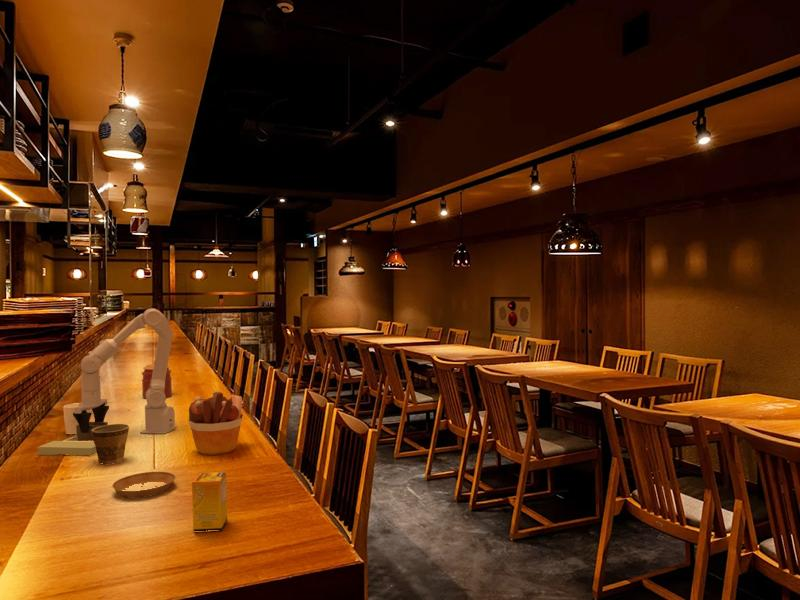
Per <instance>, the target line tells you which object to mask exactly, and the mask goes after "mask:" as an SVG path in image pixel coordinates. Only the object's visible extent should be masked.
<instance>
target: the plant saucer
mask: <svg viewBox="0 0 800 600" xmlns="http://www.w3.org/2000/svg"><path fill="white" fill-rule="evenodd" d="M176 478H177V477H176V475H175V474H174V473H172V472H167V471H147V472H140V473H135V474H130V475H126V476H124V477H121V478H119V479H117V480H116V481H114V482H113V484H112V486H111V487H112V489H113V490H114V491H116V492H117V493H118V494H119V495H121V496H122V497H125V498H129V497H140V498H145V497H144V496H147V497H151V496H150V495H152V496H155V495H154V494H156V495H158V493H159V494H161V493H163V492H164V490H165V491H166V490H167V489H168V488H169V487H170V486H171V485H172V484H173V483H174V481H175V480H176ZM147 482H164V483H166V484H165V485H163V486H160V487H157V486H155V487H156V488H152V489H147V490H140V491H122V490H126V489H125V488H129V486H132V485H134V484H140V483H141V484H142V485H144V483H147ZM141 487H143V486H141ZM162 491H163V492H162ZM160 492H161V493H160Z"/></svg>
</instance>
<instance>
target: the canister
mask: <svg viewBox="0 0 800 600" xmlns="http://www.w3.org/2000/svg"><path fill="white" fill-rule="evenodd" d="M154 361H155V359H154V360H153V363H152V364H151V363H150V364H147V365H146V366H144V367H143V368H142V369H144V370H143V372H141V375H142V379H141V384H142V386H141V387H142V388H141V389H142V393H141V394H142V399H144V400H146V396H145V394H146V391H147V390H148V388H149V387H150V382H151V379H152V373H153V367H154ZM169 368H170V365H168V366H167V372H166V378H165V389H164V393H165V396H166V399H167V398H171V397H172V395H173V389H172V377H171V373H172V370H171V369H169Z"/></svg>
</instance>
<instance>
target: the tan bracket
mask: <svg viewBox="0 0 800 600" xmlns="http://www.w3.org/2000/svg"><path fill="white" fill-rule="evenodd" d="M95 453H97V451H96V447H95V444H94V441H78V436H77V435H72V437H71V436H70V437H68V438H66V439H63V440H52V441H50V442H47V443H44V444H42V445H40V446H37V455H38V456H55V455H54V454H68V455H93V454H95ZM95 455H96V454H95ZM93 456H94V455H93Z"/></svg>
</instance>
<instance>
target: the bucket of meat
mask: <svg viewBox="0 0 800 600" xmlns="http://www.w3.org/2000/svg"><path fill="white" fill-rule="evenodd" d="M242 407H243V397H242V395H236V394H231V396H230V398H227V397H226V396H224V394H223V392H220V391H217V390H216V391H213V392H212V396H211V397H208V398H207V399H206V398H205V399H204V398H202V397H201V396H198V395H197V396H196V397H195V398H194V401H193V402H192V403H190V405H189V408H188V424H189V427H190V429H191V434H192V438H193V441H194V445H195V449H196V451H198V452H199V453H200V454H202V455H204V456H218V455H219V456H220V455H224V454H225V455H226V454H229V453H231V452H233V451H234V450H235V449H236V448H237V445H238V440H239V435H240V429H241V425H242V420H243V413H242V410H243V409H242Z"/></svg>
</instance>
